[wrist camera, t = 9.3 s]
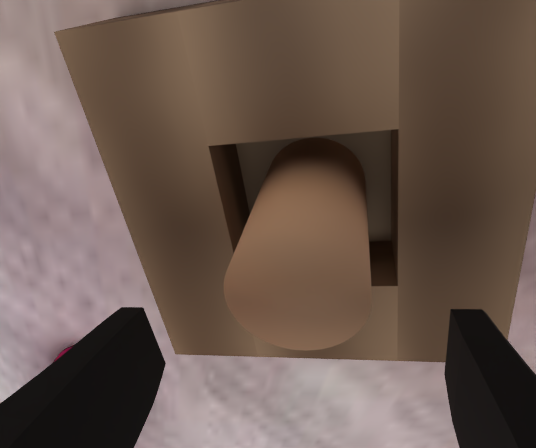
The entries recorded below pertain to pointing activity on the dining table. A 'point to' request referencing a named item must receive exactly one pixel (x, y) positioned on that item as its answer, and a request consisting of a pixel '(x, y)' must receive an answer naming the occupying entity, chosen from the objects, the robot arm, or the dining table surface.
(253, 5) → the socket block
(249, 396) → the dining table surface
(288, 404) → the dining table surface
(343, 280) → the peg
